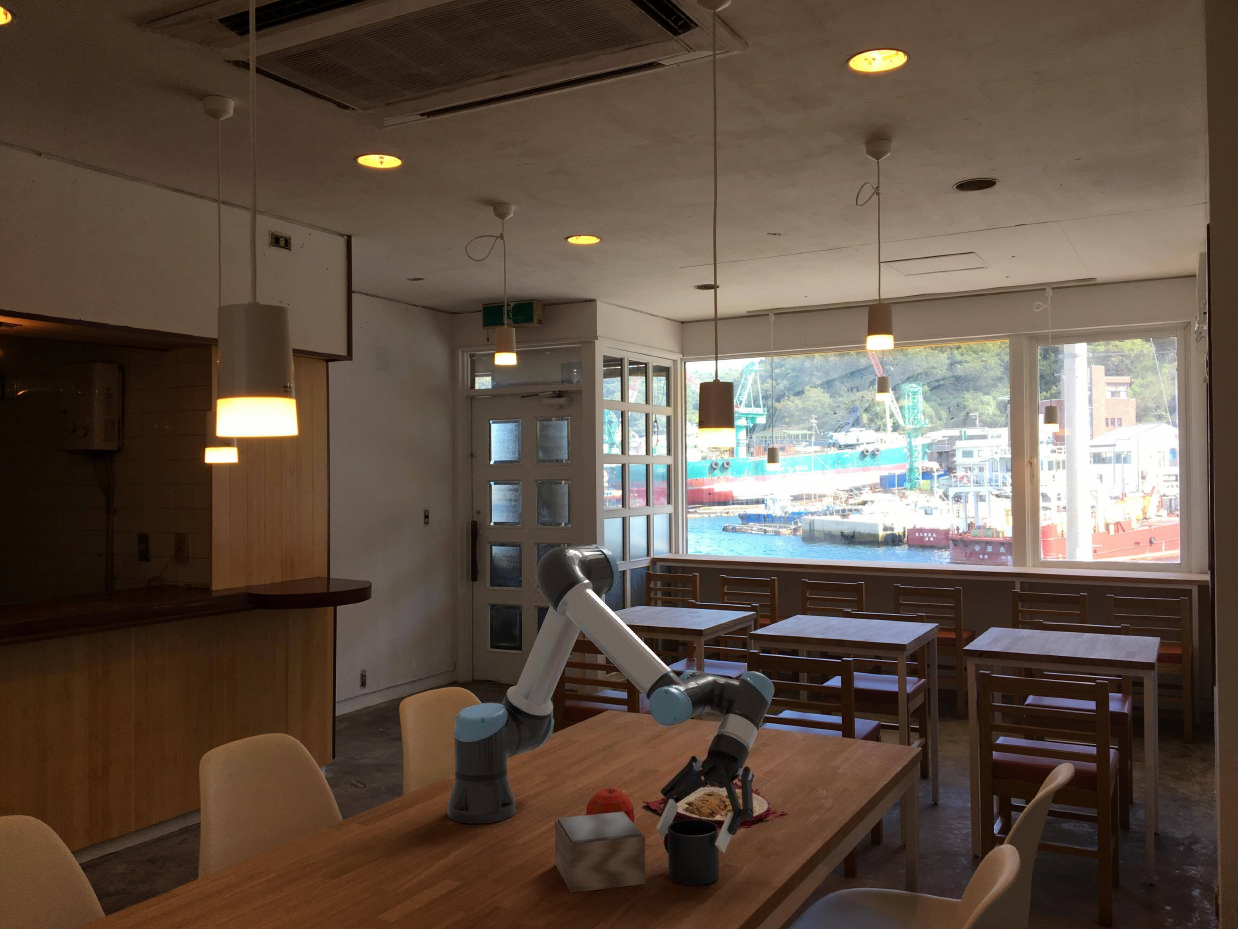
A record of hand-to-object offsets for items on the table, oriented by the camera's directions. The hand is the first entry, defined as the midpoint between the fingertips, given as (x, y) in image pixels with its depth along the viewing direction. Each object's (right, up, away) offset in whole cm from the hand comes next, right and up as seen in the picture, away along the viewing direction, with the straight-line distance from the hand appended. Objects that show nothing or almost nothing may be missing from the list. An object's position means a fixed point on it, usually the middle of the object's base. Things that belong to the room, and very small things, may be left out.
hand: (689, 841), depth 185 cm
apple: (-15, -7, +17) cm, 24 cm away
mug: (0, -7, 0) cm, 7 cm away
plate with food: (+10, -8, +37) cm, 39 cm away
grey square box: (-17, -7, +1) cm, 18 cm away
